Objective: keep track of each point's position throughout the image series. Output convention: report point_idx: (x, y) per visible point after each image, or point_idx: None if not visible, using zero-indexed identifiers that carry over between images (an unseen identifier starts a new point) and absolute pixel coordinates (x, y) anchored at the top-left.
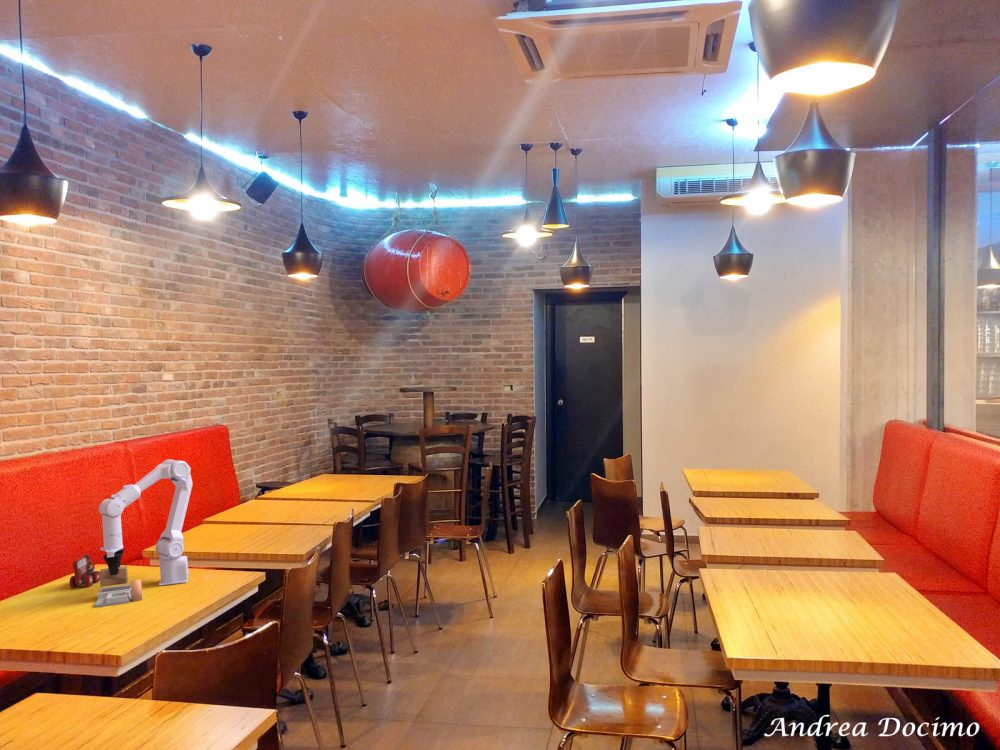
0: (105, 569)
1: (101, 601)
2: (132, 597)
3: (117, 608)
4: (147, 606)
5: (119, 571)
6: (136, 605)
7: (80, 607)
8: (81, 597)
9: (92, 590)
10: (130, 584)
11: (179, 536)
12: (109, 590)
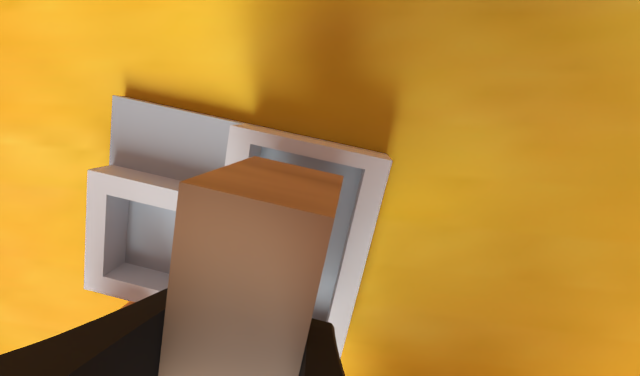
0: (259, 271)
1: (171, 142)
2: (124, 306)
3: (43, 211)
4: (11, 334)
5: None
6: (51, 297)
7: (175, 10)
8: (443, 18)
9: (598, 103)
10: (339, 348)
11: None
12: (354, 210)
